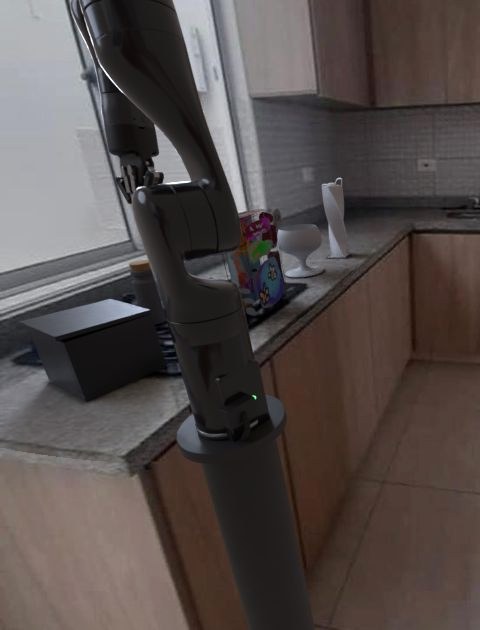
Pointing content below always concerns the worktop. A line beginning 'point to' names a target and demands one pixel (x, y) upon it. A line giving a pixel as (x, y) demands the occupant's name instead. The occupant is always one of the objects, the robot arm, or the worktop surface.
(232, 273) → the box
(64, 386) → the dark grey lidded box
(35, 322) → the dark grey box lid
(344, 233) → the skyscraper
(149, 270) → the bottle
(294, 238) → the chalice
